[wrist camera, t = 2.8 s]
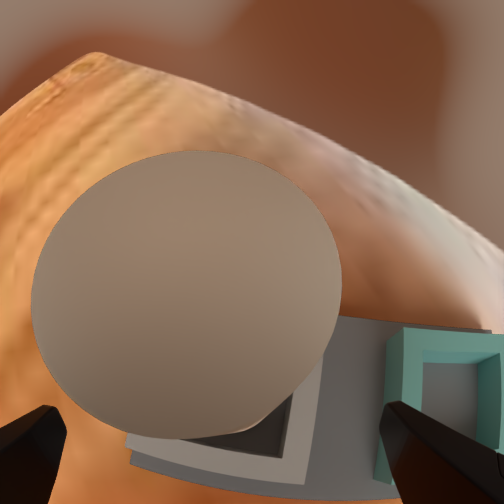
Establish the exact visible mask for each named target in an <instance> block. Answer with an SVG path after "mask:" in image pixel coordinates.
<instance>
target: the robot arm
mask: <svg viewBox="0 0 504 504" xmlns="http://www.w3.org/2000/svg"><path fill="white" fill-rule="evenodd" d="M379 432H380V435H381V439H382V442H383V446H384V449H385V453H386V457H387V460H388V464H389V468H390V471H391V475H392V477H393V480H394V483H395V485H396V487H397V490H398V492H399V495H400V497H401V500H402V502H403V504H504V455H503V454H501V453H499V452H496V451H495V450H493V449H491V448H489V447H487V446H485V445H483V444H481V443H479V442H477V441H475V440H473V439H471V438H469V437H467V436H465V435H463V434H461V433H459V432H458V431H456V430H454V429H452V428H450V427H448V426H446V425H444V424H442V423H441V422H439V421H437V420H435V419H433V418H431V417H430V416H428V415H426V414H424V413H422V412H420V411H419V410H417V409H415V408H413V407H411V406H410V405H408V404H406V403H404V402H402V401H400V400H397V401H392V402H388V403H386V404H385V406H384V408H383V412H382V416H381V420H380V423H379ZM66 435H67V429H66V426H65V424H64V421H63V419H62V417H61V415H60V413H59V411H58V409H57V408H56V407H54V406H49V405H42V406H40V407H38V408H37V409H35V410H33V411H31V412H29V413H27V414H26V415H24V416H22V417H20V418H18V419H16V420H14V421H13V422H11V423H9V424H7V425H5V426H3V427H1V428H0V504H48V502H49V498H50V495H51V492H52V489H53V486H54V483H55V480H56V477H57V473H58V469H59V465H60V460H61V456H62V452H63V448H64V443H65V439H66Z"/></svg>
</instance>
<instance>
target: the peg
mask: <svg viewBox="0 0 504 504" xmlns="http://www.w3.org/2000/svg"><path fill="white" fill-rule="evenodd" d="M341 294H342V272H341V264H340V259H339V253H338V249H337V246H336V243H335V240H334V237H333V235H332V232H331V230H330V228H329V226H328V224H327V222H326V220H325V218H324V217H323V215H322V214H321V212H320V211H319V210H318V208H317V207H316V205H315V204H314V203H313V201H312V200H311V199H310V198H309V197H308V196H307V195H306V194H305V193H304V192H303V191H302V190H301V189H300V188H299V187H298V186H296V185H295V184H294V183H293V182H292V181H290V180H289V179H288V178H286V177H285V176H283V175H281V174H280V173H278V172H277V171H275V170H273V169H271V168H269V167H267V166H265V165H263V164H261V163H259V162H256V161H253V160H250V159H247V158H245V157H241V156H237V155H233V154H228V153H221V152H214V151H181V152H173V153H167V154H162V155H157V156H154V157H150V158H146V159H143V160H140V161H138V162H135V163H132V164H130V165H128V166H125V167H123V168H121V169H119V170H117V171H115V172H113V173H112V174H110V175H108V176H107V177H105V178H103V179H102V180H100V181H99V182H97V183H96V184H95V185H93V186H92V187H91V188H89V189H88V190H87V191H86V192H85V193H83V194H82V195H81V196H80V197H79V198H78V199H77V200H76V201H75V202H74V203H73V204H72V205H71V206H70V207H69V208H68V209H67V211H66V212H65V213H64V214H63V216H62V217H61V218H60V220H59V221H58V222H57V224H56V225H55V227H54V228H53V230H52V232H51V233H50V235H49V237H48V239H47V240H46V243H45V245H44V247H43V249H42V252H41V254H40V256H39V260H38V263H37V266H36V270H35V273H34V279H33V285H32V293H31V314H32V325H33V329H34V334H35V338H36V342H37V345H38V348H39V350H40V353H41V356H42V358H43V360H44V362H45V364H46V366H47V368H48V369H49V371H50V373H51V375H52V376H53V378H54V379H55V381H56V382H57V383H58V384H59V386H60V387H61V388H62V389H63V391H64V392H65V393H66V394H67V395H68V396H69V397H70V398H71V399H72V400H73V401H74V402H75V403H76V404H78V405H79V406H80V407H81V408H82V409H83V410H85V411H86V412H88V413H89V414H91V415H92V416H94V417H95V418H97V419H99V420H100V421H102V422H104V423H106V424H108V425H111V426H113V427H115V428H117V429H120V430H122V431H125V432H129V433H132V434H136V435H140V436H144V437H150V438H159V439H170V440H176V439H193V438H203V437H210V436H217V435H224V434H230V433H236V432H241V431H245V430H248V429H250V428H252V427H254V426H255V425H257V424H258V423H259V422H260V421H262V420H263V419H264V418H265V417H266V416H267V415H269V414H270V413H271V412H272V411H273V410H274V409H275V408H276V407H278V406H279V405H280V404H281V403H282V402H283V401H284V400H285V399H286V398H287V397H289V396H290V395H291V394H292V393H293V392H294V391H295V390H296V389H297V387H298V386H299V385H300V384H301V383H302V382H303V381H304V380H305V379H306V378H307V376H308V375H309V374H310V373H311V371H312V370H313V368H314V367H315V365H316V364H317V362H318V361H319V359H320V358H321V356H322V355H323V353H324V351H325V349H326V347H327V345H328V342H329V340H330V338H331V336H332V334H333V331H334V328H335V324H336V321H337V317H338V314H339V310H340V302H341Z"/></svg>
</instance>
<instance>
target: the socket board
mask: <svg viewBox="0 0 504 504" xmlns="http://www.w3.org/2000/svg"><path fill="white" fill-rule="evenodd" d="M397 400H400V401H402V402H404V403H406V404H408V405H410V406H411V407H413V408H415V409H417V410H419V411H420V412H422V413H424V414H426V415H428V416H430V417H431V418H433V419H435V420H437V421H439V422H441V423H442V424H444V425H446V426H448V427H450V428H452V429H454V430H456V431H458V432H459V433H461V434H463V435H465V436H467V437H469V438H471V439H473V440H475V441H477V442H479V443H481V444H483V445H485V446H487V447H489V448H491V449H493V450H495V451H496V452H499V453H501V454H503V455H504V335H503V334H492V332H491V330H483V329H468V328H455V327H443V326H431V325H421V324H410V323H400V322H391V321H382V320H373V319H364V318H356V317H348V316H340V315H338V317H337V321H336V324H335V328H334V331H333V334H332V336H331V338H330V340H329V342H328V345H327V347H326V349H325V351H324V353H323V355H322V356H321V358H320V359H319V361H318V362H317V364H316V365H315V367H314V368H313V370H312V371H311V373H310V374H309V375H308V376H307V378H306V379H305V380H304V381H303V382H302V383H301V384H300V385H299V386H298V387H297V389H296V390H295V391H294V392H293V393H292V394H291V395H290V396H289V397H287V398H286V399H285V400H284V401H283V402H282V403H281V404H280V405H279V406H278V407H276V408H275V409H274V410H273V411H272V412H271V413H270V414H269V415H267V416H266V417H265V418H264V419H263V420H262V421H260V422H259V423H258V424H257V425H255V426H254V427H252V428H250V429H248V430H245V431H241V432H236V433H230V434H224V435H217V436H210V437H203V438H193V439H176V440H170V439H159V438H150V437H144V436H140V435H136V434H132V433H129V432H128V434H127V438H126V443H125V447H126V448H129V449H132V455H131V459H130V464H131V465H134V466H137V467H140V468H143V469H146V470H149V471H152V472H156V473H159V474H162V475H166V476H169V477H173V478H176V479H180V480H184V481H188V482H192V483H196V484H200V485H205V486H209V487H214V488H219V489H224V490H229V491H235V492H241V493H247V494H254V495H261V496H269V497H279V498H289V499H302V500H324V501H360V500H381V499H394V498H401V497H400V495H399V492H398V490H397V487H396V485H395V483H394V480H393V477H392V475H391V471H390V468H389V464H388V460H387V457H386V453H385V449H384V446H383V442H382V439H381V435H380V432H379V423H380V420H381V416H382V412H383V408H384V406H385V404H386V403H388V402H392V401H397Z"/></svg>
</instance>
